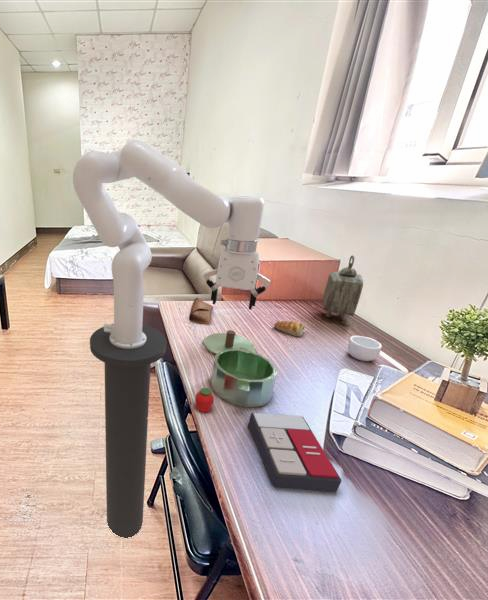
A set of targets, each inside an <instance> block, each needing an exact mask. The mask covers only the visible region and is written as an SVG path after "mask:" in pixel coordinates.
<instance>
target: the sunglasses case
mask: <svg viewBox="0 0 488 600" xmlns="http://www.w3.org/2000/svg"><path fill="white" fill-rule="evenodd" d="M213 309H214V306H213V305H211V304H209V303H207V302H205V301H203V300H201V299H200V298H199V297H195V299H194V300H193V302H192V305H191V309H190V311H189V315H188V320H189V321H190V322H191V323H195V324H203V325H210V324H211V322H212V319H211V317H212V311H213Z"/></svg>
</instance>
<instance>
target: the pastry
mask: <svg viewBox="0 0 488 600" xmlns="http://www.w3.org/2000/svg"><path fill="white" fill-rule="evenodd" d="M274 327H275V329H276V330H278V331H279V332H283V333H284V334H287V335H291V336H294V337H302V336H303V333H305V331H306V330H305V327H306V324H305V323H300V322H297V321H294V320H292V321H291V320H283V321H282V320H279V321H277V322H275V323H274Z"/></svg>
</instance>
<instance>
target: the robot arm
mask: <svg viewBox="0 0 488 600" xmlns="http://www.w3.org/2000/svg"><path fill="white" fill-rule="evenodd" d="M132 178H136V179H137V180H138V181H140V182H141V183H143V184H145V185H146V186H148V187H149V188H150V189H152V190H154V191H155V192H157V193H158V194H159V195H161V196H162V197H163V198H164V199H165V200H167V201H168V202H170V203H171V204H172V205H173V206H174V207H176V208H177V209H178V210H179V211H181V212H182V213H183V214H185V215H186V216H188V218H189V217H190V218H191V219H192V220H194V221H195V222H197V223H198V224H200V225H202V226H203V227H206V228H209V229H210V228H211V229H216V228H219V227H221V226H222V225H224V224H225V223H226V224H227V223H228V229H227V235H226V238H225V239H221V240H220V245H221V246H224V247H225V248H223V249H222V250H221V253H220V257H219V260H218V265H217V268H215V269H213V270H209V271H207V272H204V274H203V278H204V280H205V283H206V284H207V286H208V287H209V288H210V290H211V295H210V301H212V305H216V303H217V298H218V293H219V292H218V291H219V288H220V287H222V288H228V289H236V290H243V291H250V296H249V297H250V298H249V302H248V303H249V304H248V310H249V311H250V310H251V311H252V308H253V307H256V302H257V297H259V295H260V294H262V293H264V292H265V291H266V290H267V289H268V288H269V286H270V285H271V284H272V281H271V279H269V278H267V277H265V276H264V275H262V274H261V273H259V265H260V264H259V262H260V255H259V251H257V246H258V242H259V237H260V231H261V226H262V225H261V224H262V218H263V213H264V207H265V201H264V198H262V197H259V196H229V195H223V194H215V193H214V192H212V191H211V190H210V189H208V188H206V186H205V187H204V186H203V185H202V184H201V183H199V182H198V181H196V180H195V179H194V178H192V176H190V175H189V174H188V173H187V171H186V170H185V168H183V167H182V166H181V165H180V164H178V163H177V162H175V161H174V160H172V159H170V158H169V157H167V156H166V155H164V154H163V153H161V152H160V151H158V150H157V149H156V148H155V147H154V146H153V145H151V144H150V143H149V142H146V141H143V140H141V139H132V140H130V141H128V142H126V143H125V144H124V145H123V146H122V148H121V149H120V150H116V151H112V152H104V151H99V150H93V151H92V150H90V151H87V152H85V153H83V154H82V155H81V156H80V157H79V158H78V160H77V161H76V163H75V164H74V168H73V173H72V184H73V188H74V189H73V190H74V191H75V192H74V193H75V194H76V196H77V198H78V200H79V202H80V204H81V205H82V207H83V209H84V211H85V212H86V214H87V216H88V218H89V220H90V222H91V224H92V226H93V228H94V229H95V231H96V233H97V235H98V238H99V240H100V241H101V242H102V244H103V245H104V246H106V247H108V248H117V247H118V249H119V251H117V252H116V254H115V255H114V257H113V258H112V261H111V275H112V282H113V283H112V284H113V323H112V324H113V325H111V324H110V323H104V324H103V326H102V327H103V328H104V332H109V333H111V334H110V337H109V339H110V342H111V343H112V344H113V345H114V346H116V347H119V348H124V349H133V348H138V347H141V346H143V345H144V344H145V343H146V340H147V337H146V335H145V334H144V333H143V332H142V324H143V323H144V322H143V320H144V293H145V292H144V291H145V290H144V287H145V286H144V277H143V274H144V271H145V270H146V269H147V268H148V267H149V266H150V264H151V263H152V258H153V257H152V255H153V254H152V251H151V248H150V246H149V244H148V242H147V240H146V238H145V236H144V234H143V233H142V231H141V229H140V226H139V225H138V223H137V221H136V220H135V219H134V218H133V216H132V215H130V214H129V213H127V212H119V211H118V209H117V207H116V205H115V203H114V201H113V199H112V197H111V196H110V194H109V192H107V190H106V189H105V188H104V185H103V184H111V183H116V182H120V181H124V180H128V179H132ZM213 276H215V282H214V281H213V279H211V277H213ZM257 280H258V281H259V282H261V283H263V284H262V285H260V286H259V287H256V284H257Z"/></svg>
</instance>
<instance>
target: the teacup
mask: <svg viewBox="0 0 488 600" xmlns="http://www.w3.org/2000/svg"><path fill="white" fill-rule="evenodd" d="M382 346H383V345H382V343H381V342H379V341H378V340H376V339H373V338H371V337H368V336H363V335H352V336H351V337H350V338H349V339H348V343H347V351H348V352H347V353H349V355H350V356H351V357H352V358H354V359H356V360H357V361H362V362H370V361H373V360H375V359H377V358H378V357H379V355H380V353H381V351H382V348H383V347H382Z"/></svg>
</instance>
